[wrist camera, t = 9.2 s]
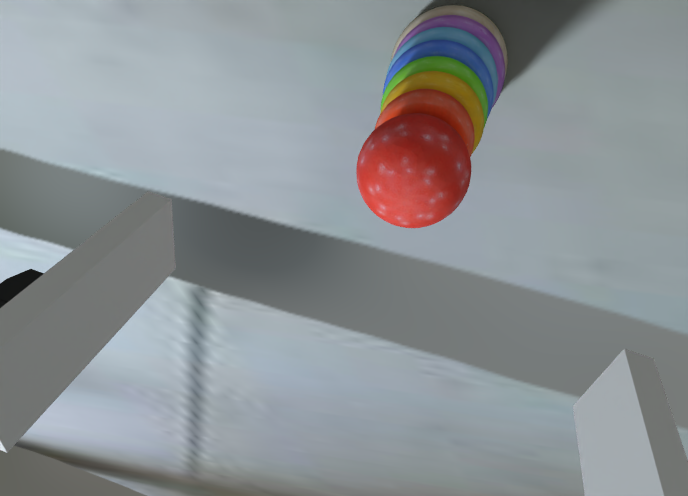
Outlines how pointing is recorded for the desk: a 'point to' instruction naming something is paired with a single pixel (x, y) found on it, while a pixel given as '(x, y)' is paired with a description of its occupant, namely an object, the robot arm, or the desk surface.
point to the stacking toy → (432, 116)
